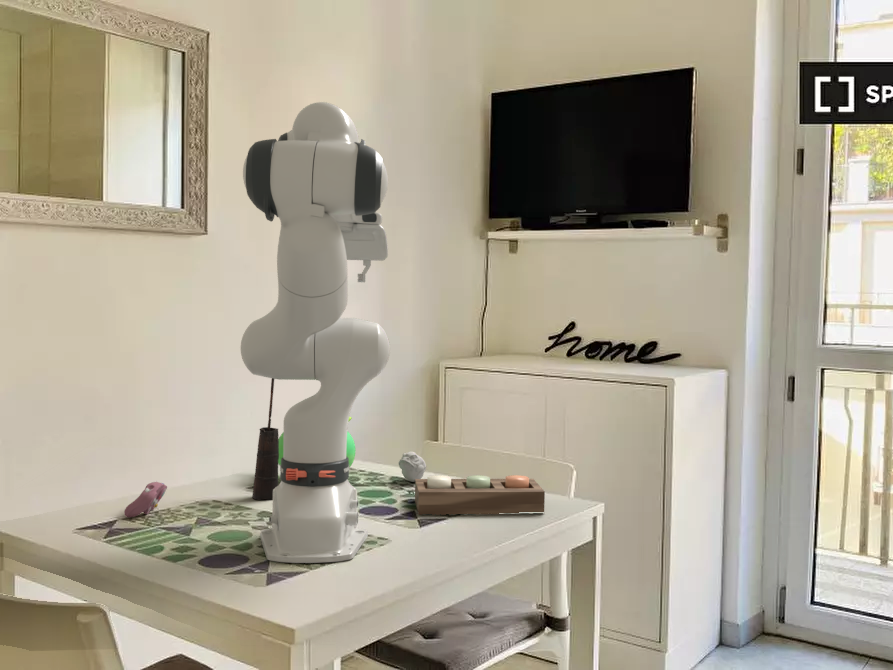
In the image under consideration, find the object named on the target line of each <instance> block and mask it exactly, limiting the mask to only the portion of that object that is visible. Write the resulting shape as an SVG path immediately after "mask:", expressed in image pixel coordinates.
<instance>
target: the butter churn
mask: <svg viewBox="0 0 893 670" xmlns="http://www.w3.org/2000/svg"><path fill="white" fill-rule="evenodd" d="M274 387H275V379H273V378H271V382H270V399H269V407H268V408H269V410H268V422H267V427H266V426H264V427H261V428H259V429H258V430H259V435H258V441H257V442H258V443H257V453H256V463H255V468H254V469H255V472H254V481H253V487H252V488H253V489H252V499H254V500H257V501H261V500H273V489H275V487H277V486H278V485H279V464H278V459H279V437H280V436H279V428H276V427H271V426H272V425H271V423H272V419H271V417H272V411H273V400H274V399H273V398H274V397H273V396H274V389H275V388H274Z"/></svg>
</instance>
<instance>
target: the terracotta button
mask: <svg viewBox="0 0 893 670" xmlns="http://www.w3.org/2000/svg"><path fill="white" fill-rule="evenodd" d="M504 479H505V488H529V479H530V478H529V476H526V475H519V474H515V475H514V474H513V475H507V476H505V478H504Z"/></svg>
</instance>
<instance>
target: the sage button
mask: <svg viewBox="0 0 893 670" xmlns="http://www.w3.org/2000/svg"><path fill="white" fill-rule="evenodd" d="M466 479H467V485H466V489H474V488H490V479H491V477H490V476H487V475H477V474H476V475H468V476H467V477H466Z"/></svg>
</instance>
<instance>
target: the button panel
mask: <svg viewBox="0 0 893 670" xmlns="http://www.w3.org/2000/svg"><path fill="white" fill-rule="evenodd" d="M414 484H415V485H414V503H415V507H416V510H417V515H418V516H423V515H422V514H432V515H431V516H434V515H435V514H436V515H435V516H437V515H439V516H441V515H444V516H445V515H446V514H449V515H450V516H451V514H453V516H455V514H476V515H500V514H499V513H519V512H544V513H545V503H546V502H545V500H546V499H545V493H546V491H545V490H544V489H543V488H542V487H541V486H540V485H539V483H538V482H537V481H536V479H534V478H529V488H505V478H490V488H474V489H466V485H467V478H451V489H427V478H421V479H415V482H414ZM440 514H441V515H440ZM449 515H448V516H449ZM446 516H447V515H446Z"/></svg>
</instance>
